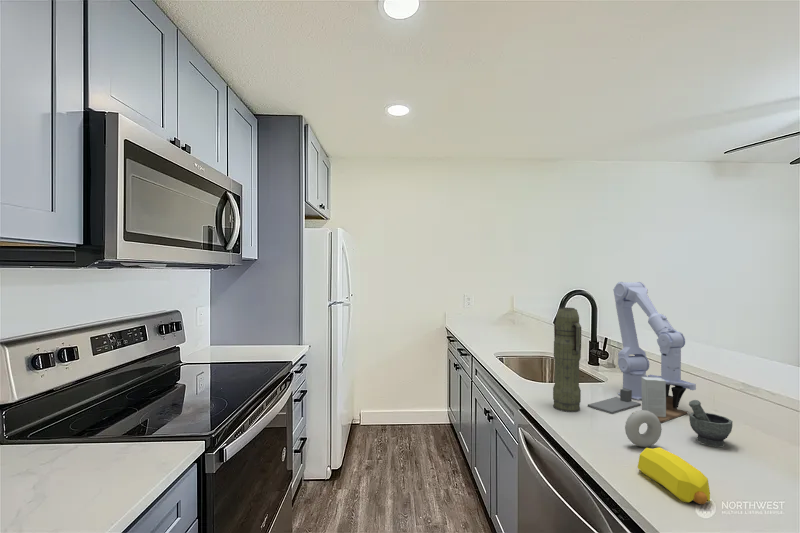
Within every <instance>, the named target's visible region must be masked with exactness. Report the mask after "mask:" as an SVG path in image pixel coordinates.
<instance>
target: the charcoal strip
mask: <svg viewBox="0 0 800 533" xmlns="http://www.w3.org/2000/svg"><path fill="white" fill-rule="evenodd" d="M619 391H620V392H619V393H620V395H619V396H620V397H618V396H614V397H611V398H607V399H606V398H605V399H603V400H599V401H595V402H593V403H589V404H587V407H588V408H592V409H596V410H599V411H602V412H606V413H608V414H612V415H613V414H616V413H619V412H623V411H625V410H629V409H632V408H637V407H638V406H639V407H640V406H642V402H637V401H633V398H632V390H630V389H626V388H624V389H623V388H621V389H620V390H619Z"/></svg>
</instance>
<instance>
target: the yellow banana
mask: <svg viewBox="0 0 800 533" xmlns="http://www.w3.org/2000/svg"><path fill="white" fill-rule="evenodd" d="M638 456H639V457H638V462H637V463H638V464H637V469H638V470H640V472H641V473H642V474H644V475H645V476H647V477H648V478H650V479H651V480H653V481H654V482H656V483H658V484H660V485H661V486H663V487H664V488H665V489H667V491H668V492H670V493H671V494H672V495H674V496H675V497H676V498H677V499H679V500H680V501H681V502H682V503H690V502H692V501H693V502H695V504H698V505H705V504H707V502H711V490H710V485H709V478H708V477H707V476H706V475H705V474H704V473H703V472H702V471H701V470H699V469H698V468H696V466H695V467H694V466H693V465H692V464H690V463H689V462H687V461H686V460H685V459H684V458H682V457H681V456H679V455H676V454H675V453H672V452H670V451H668V450H666V449H664V448H662V447H660V446H659V447H655V448H650V447H644V449H643V451H641V452H640V454H639V455H638Z"/></svg>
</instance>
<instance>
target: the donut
mask: <svg viewBox="0 0 800 533" xmlns="http://www.w3.org/2000/svg"><path fill="white" fill-rule="evenodd" d="M642 424H646V425H647V426H646V427H647V429H646V431H645V432H644V433H640V427H641V425H642ZM662 429H663V428H662V423H660V421H659V419H658V417H657V416H656V415H655V414H653V413H652V412H650V411H646V410H642V409H641V410H639V409H638V410H636V411H634V413H633V412H631V414H629V416H628V418H626V421H625V425H624V431H625V432H624V433H625V435H626V437H627V439H628V440H629V442H631V444H633V445H635V446H637V447H641V448H649V447H651V446H654V445H655V444H656V443H657V442H658V441H659V440H660V437H661V435H662Z"/></svg>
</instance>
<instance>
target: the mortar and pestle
mask: <svg viewBox="0 0 800 533" xmlns="http://www.w3.org/2000/svg"><path fill="white" fill-rule="evenodd" d="M701 404H702V403H701V401H699V400H698V399H692V400H690V401H689V402H688V406H689V407H690V408H691V410H692V412H691V413H689V417H688V418H689V424H690V427H691V429H692V431H694V433H695V434H697V437H696V441H697V442H699V443H700V444H703V445H705V446H710V447H715V448H720V447H722V448H723V447H725V441H724V440H726V439H727V438H728V437H729V435H730V434H731V433H732V429H733V420H731V419H730V418H728V417H725V416H722V415H719V414H716V413H710V412H705V410H704V409H703V407H702V405H701Z"/></svg>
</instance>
